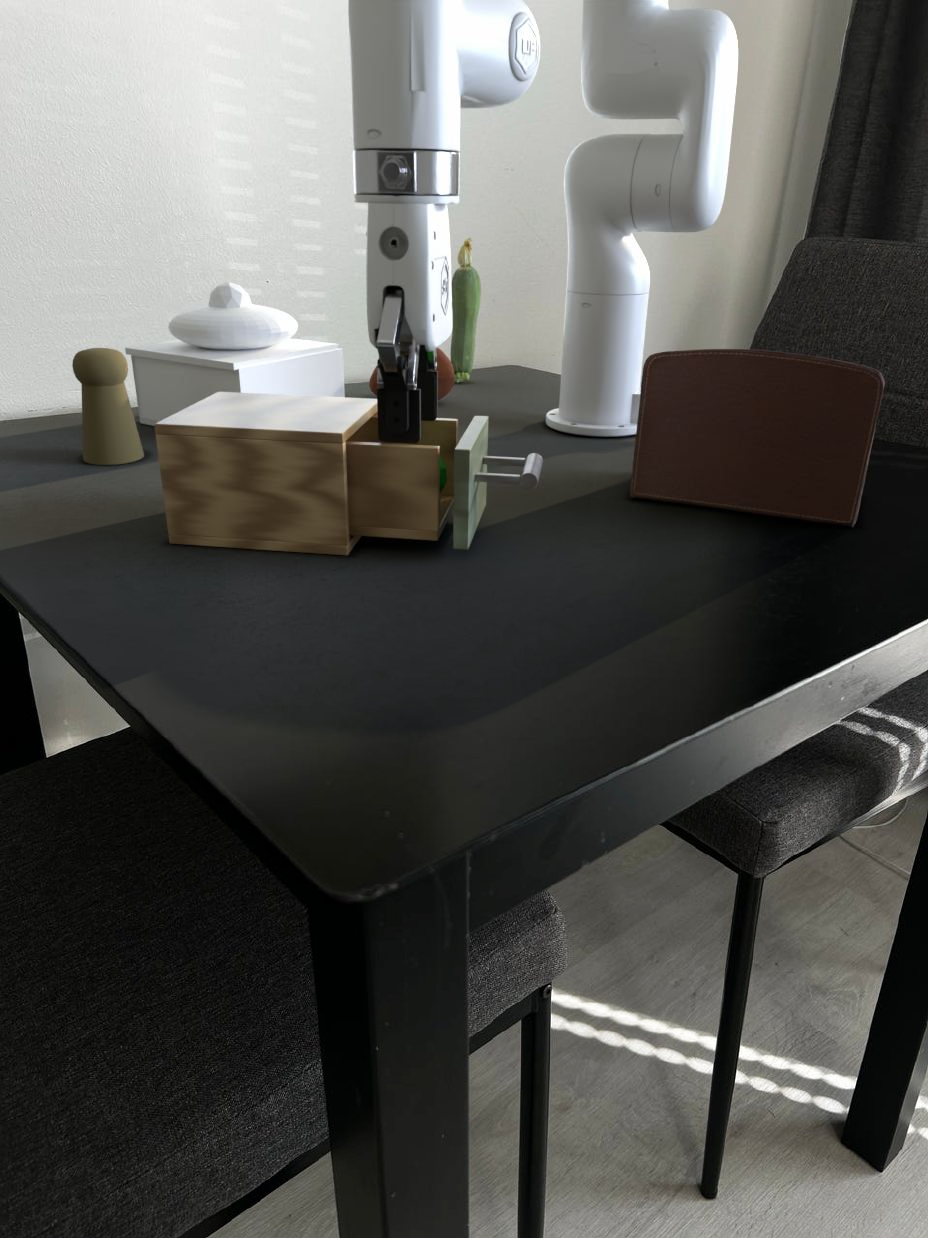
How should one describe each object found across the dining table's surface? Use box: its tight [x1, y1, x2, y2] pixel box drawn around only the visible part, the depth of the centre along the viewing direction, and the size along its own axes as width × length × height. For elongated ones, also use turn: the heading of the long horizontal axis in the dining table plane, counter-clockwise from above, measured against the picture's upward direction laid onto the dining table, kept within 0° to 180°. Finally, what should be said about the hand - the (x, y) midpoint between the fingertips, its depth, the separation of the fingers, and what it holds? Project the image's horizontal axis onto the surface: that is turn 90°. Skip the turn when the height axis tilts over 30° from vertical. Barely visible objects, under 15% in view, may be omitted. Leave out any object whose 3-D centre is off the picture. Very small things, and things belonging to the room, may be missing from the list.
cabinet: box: [153, 392, 378, 556], centre depth 75 cm, size 15×13×10 cm
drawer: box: [345, 415, 544, 550], centre depth 74 cm, size 18×11×8 cm, turn 82°
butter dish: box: [124, 281, 346, 427], centre depth 109 cm, size 18×18×16 cm
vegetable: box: [449, 237, 482, 383], centre depth 133 cm, size 4×4×20 cm
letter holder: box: [629, 348, 885, 528], centre depth 83 cm, size 10×20×14 cm, turn 68°
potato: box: [368, 344, 455, 401], centre depth 122 cm, size 8×12×8 cm, turn 88°
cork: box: [71, 347, 145, 466], centre depth 93 cm, size 6×6×11 cm
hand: (409, 428), depth 72 cm, fingers open, 6 cm apart
